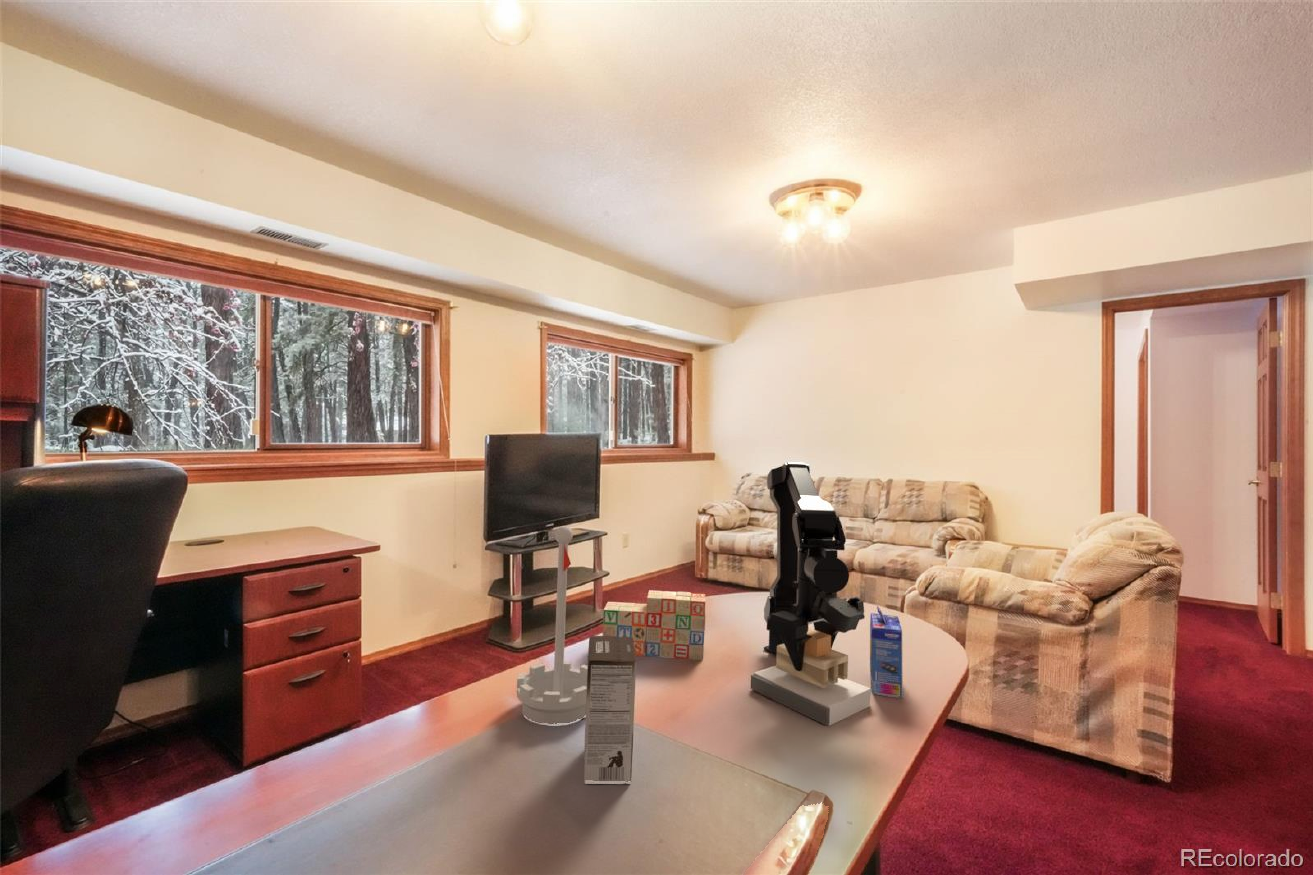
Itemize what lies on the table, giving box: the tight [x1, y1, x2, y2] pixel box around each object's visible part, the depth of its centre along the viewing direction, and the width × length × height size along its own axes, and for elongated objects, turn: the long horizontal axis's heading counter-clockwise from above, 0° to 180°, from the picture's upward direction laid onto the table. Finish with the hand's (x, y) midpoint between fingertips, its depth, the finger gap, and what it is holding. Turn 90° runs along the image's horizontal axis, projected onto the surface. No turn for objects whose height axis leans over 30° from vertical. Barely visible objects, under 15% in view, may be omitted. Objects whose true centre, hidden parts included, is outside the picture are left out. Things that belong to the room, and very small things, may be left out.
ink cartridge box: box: [869, 605, 904, 699], centre depth 105 cm, size 10×6×14 cm, turn 161°
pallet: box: [776, 644, 849, 688], centre depth 99 cm, size 7×10×4 cm
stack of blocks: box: [602, 589, 706, 661], centre depth 119 cm, size 21×6×12 cm, turn 86°
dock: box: [749, 665, 872, 727], centre depth 99 cm, size 13×16×3 cm
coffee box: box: [583, 635, 637, 782], centre depth 76 cm, size 9×6×16 cm
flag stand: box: [516, 525, 588, 724], centre depth 91 cm, size 13×13×30 cm
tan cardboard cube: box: [804, 627, 832, 657], centre depth 99 cm, size 4×5×3 cm
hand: (811, 666), depth 99 cm, fingers closed on pallet, 7 cm apart
